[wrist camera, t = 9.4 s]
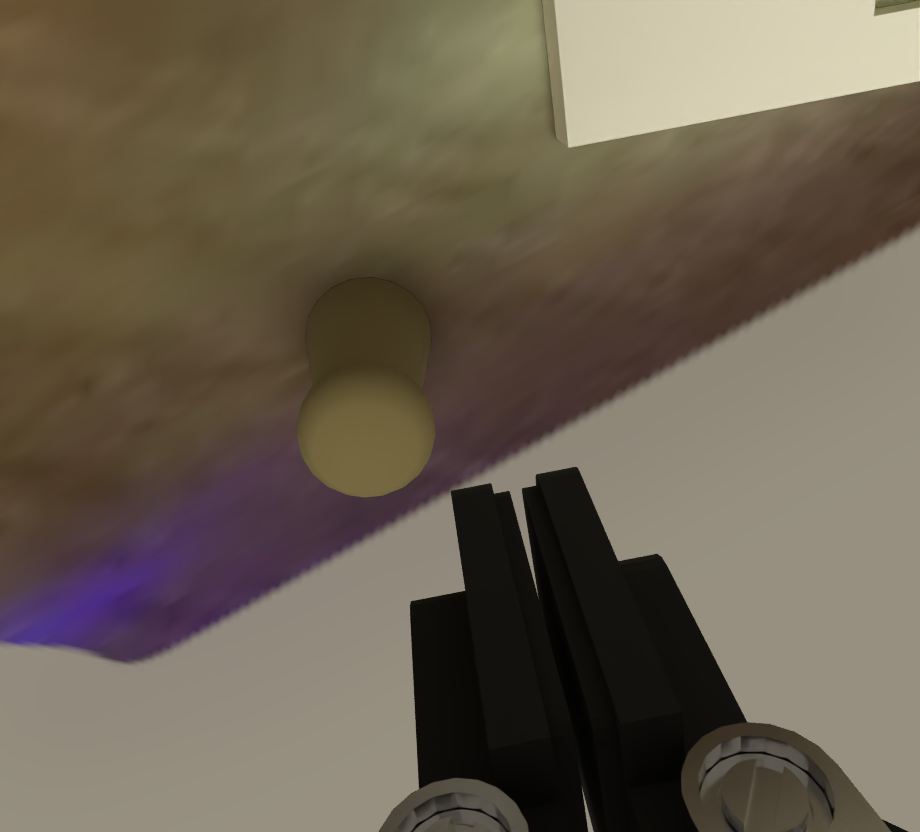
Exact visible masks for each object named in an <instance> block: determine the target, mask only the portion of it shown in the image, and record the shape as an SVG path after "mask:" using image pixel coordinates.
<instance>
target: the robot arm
mask: <svg viewBox="0 0 920 832" xmlns="http://www.w3.org/2000/svg"><path fill="white" fill-rule="evenodd" d="M522 494H523V501H524V508H525V514H526V521H527V527H528V533H529V539H530V546H531V553H532V559H533V565H534V571H535V578H536V584H537V591H538V596H537V592H536V588H535V584H534V581H533V577H532V573H531V569H530V566H529V562H528V558H527V554H526V551H525V547H524V543H523V539H522V536H521V532H520V528H519V525H518V521H517V517H516V513H515V510H514V506H513V502H512V499H511V495H510V492H509V491H506V492H501V493H496V494H494V493H493V489H492V484H490V483H489V484H484V485H479V486H474V487H469V488H463V489H458V490H453V491H451V496H452V503H453V510H454V516H455V522H456V530H457V536H458V543H459V550H460V557H461V564H462V570H463V577H464V584H465V591H462V592H457V593H452V594H447V595H442V596H437V597H431V598H426V599H421V600H416V601H411V604H410V620H411V637H412V638H411V640H412V660H413V679H414V697H415V698H414V699H415V719H416V738H417V757H418V778H419V790H417V791H415V792H413V793H411V794H410V795H409V796H408V797H407V798H405V799H404V800H403V801H402V802H401V803H400V804H399V805H398V806H397V807H395V808H394V809H393V810H392V812H391V813H390V815H389V816H388V818H387V820H386V821H385V822H384V824H383V826H382V827H381V829H380V830H379V832H588V827H587V820H586V813H585V806H584V799H583V793H582V789H583V792H584V796H585V800H586V804H587V808H588V812H589V815H590V819H591V823H592V827H593V830H594V832H908V831H906V830H903V829H901V828H899V827H897V826H895V825H893V824H891V823H889V822H887V821H884V820H882V819H881V818H880V817H879V816H878V814H877V813H876V812H875V811H874V809H873V808H872V807H871V806H870V804H869V803H868V802H867V801H866V799H865V798H864V797H863V796H862V794H861V793H860V792H859V791H858V789H857V788H856V787H855V786H854V784H853V783H852V782H851V781H850V779H849V778H848V777H847V776H846V774H845V773H844V772H843V771H842V769H841V768H840V767H839V766H838V765H837V764H836V762H835V761H834V760H833V759H831V758H830V757H829V756H828V755H827V754H826V753H825V752H824V751H823V750H822V749H821V748H820V747H819V746H818V745H816V744H815V743H813V742H811V741H809V740H808V739H806V738H804V737H803V736H801V735H799V734H797V733H796V732H794V731H790V730H787V729H784V728H781V727H777V726H775V725H771V724H763V723H749V722H747V721H746V719H745V717H744V715H743V713H742V711H741V709H740V707H739V705H738V703H737V701H736V699H735V697H734V696H733V694H732V692H731V690H730V688H729V686H728V684H727V682H726V680H725V678H724V676H723V674H722V672H721V670H720V668H719V666H718V664H717V662H716V660H715V658H714V656H713V655H712V652H711V651H710V649H709V647H708V645H707V643H706V641H705V639H704V637H703V635H702V633H701V631H700V629H699V627H698V625H697V623H696V621H695V619H694V617H693V616H692V614H691V612H690V610H689V608H688V606H687V604H686V602H685V600H684V598H683V596H682V594H681V592H680V590H679V588H678V587H677V585H676V582H675V580H674V578H673V577H672V575H671V573H670V571H669V569H668V567H667V565H666V563H665V562H664V560H663V559H662V557H661V556H659V555H658V554H654V555H649V556H644V557H638V558H634V559H628V560H623V561H618V560H617V558H616V555H615V553H614V551H613V549H612V546H611V544H610V541H609V539H608V537H607V535H606V532H605V530H604V527H603V525H602V523H601V520H600V518H599V516H598V514H597V511H596V509H595V506H594V504H593V502H592V499H591V497H590V495H589V492H588V490H587V488H586V485H585V483H584V481H583V479H582V476H581V474H580V471H579V470H578V468H577V467H572V468H567V469H562V470H557V471H552V472H547V473H541V474H537V475H536V486H532V487H527V488H522ZM538 597H539V599H538Z"/></svg>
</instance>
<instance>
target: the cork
mask: <svg viewBox="0 0 920 832" xmlns="http://www.w3.org/2000/svg"><path fill="white" fill-rule="evenodd" d="M431 341H432V339H431V329H430V321H429V319H428V317H427V315H426V313H425V311H424V309H423V306H422V305H421V304H420V303H419V302H418V300H417V299H416V298H415V297H414V296H413V295H412V294H411V293H410V292H409V291H408V290H406V289H404V288H402V287H400V286H398V285H397V284H395V283H393V282H391V281H387V280H382V279H377V278H372V277H369V278H360V279H350V280H348V281H346V282H344V283H341V284H339V285H337V286H334V287H332V288H331V289H330V290H329V291H328V292H327V293H325V294H324V295H323V296H322V297H321V298H320V299H319V300H318V301H317V303H316V304H315V306H314V308H313V310H312V312H311V314H310V315H309V317H308V324H307V330H306V342H307V350H308V357H309V365H310V373H311V381H312V388H311V389H310V391H309V392H308V394H307V396H306V398H305V399H304V401H303V403H302V405H301V408H300V412H299V418H298V424H297V430H296V433H297V438H298V443H299V448H300V452H301V455H302V458H303V459H304V461H305V463H306V464H307V466H308V468H309V469H310V471H311V472H312V474H313V475H315V476H316V477H317V478H318V479H319V480H321V481H322V482H323V483H324V484H325V485H326V486H328V487H330V488H332V489H335V490H337V491H339V492H342V493H344V494H346V495H351V496H358V497H373V496H382V495H385V494H388V493H390V492H393V491H395V490H398V489H400V488H402V487H404V486H405V485H407V484H408V483H409V482H410V481H412V480H413V479H414V478H415V477H417V476H418V475H419V474H420V472H421V471H422V469H423V468H424V466H425V465H426V463H427V462H428V460H429V458H430V455H431V452H432V448H433V444H434V440H435V436H436V432H435V423H434V415H433V409H432V407H431V405H430V403H429V401H428V399H427V397H426V395H425V393H424V391H423V385H424V380H425V374H426V368H427V363H428V357H429V352H430V346H431Z"/></svg>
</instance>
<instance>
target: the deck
mask: <svg viewBox="0 0 920 832" xmlns="http://www.w3.org/2000/svg"><path fill="white" fill-rule="evenodd" d="M542 5H543V14H544V24H545V34H546V44H547V53H548V63H549V73H550V83H551V93H552V102H553V112H554V122H555V132H556V139H557V140H559V141H560V142H561V143H563V144H564V145H565V146H567V147H568V148H570V147H575V146H581V145H586V144H591V143H596V142H602V141H607V140H612V139H617V138H623V137H628V136H633V135H638V134H644V133H649V132H654V131H659V130H665V129H670V128H675V127H680V126H686V125H691V124H696V123H701V122H707V121H712V120H717V119H722V118H727V117H733V116H738V115H743V114H748V113H754V112H759V111H764V110H769V109H775V108H780V107H785V106H790V105H796V104H801V103H806V102H811V101H817V100H822V99H827V98H832V97H838V96H843V95H848V94H853V93H859V92H864V91H869V90H874V89H880V88H885V87H890V86H895V85H901V84H906V83H911V82H916V81H920V0H919V1H914V2H909V3H903V4H898V5H893V6H888V7H882V8H877V9H875V0H542Z"/></svg>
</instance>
